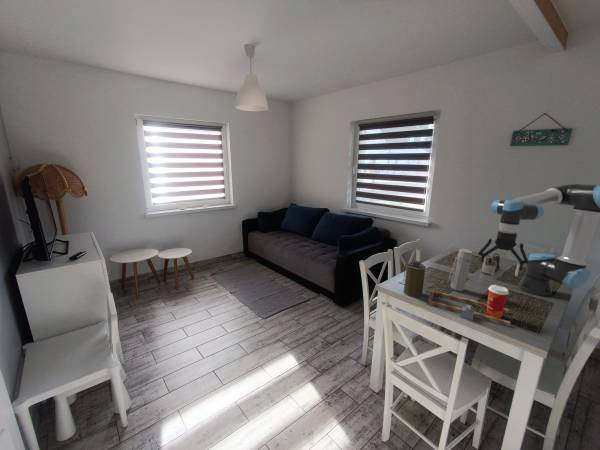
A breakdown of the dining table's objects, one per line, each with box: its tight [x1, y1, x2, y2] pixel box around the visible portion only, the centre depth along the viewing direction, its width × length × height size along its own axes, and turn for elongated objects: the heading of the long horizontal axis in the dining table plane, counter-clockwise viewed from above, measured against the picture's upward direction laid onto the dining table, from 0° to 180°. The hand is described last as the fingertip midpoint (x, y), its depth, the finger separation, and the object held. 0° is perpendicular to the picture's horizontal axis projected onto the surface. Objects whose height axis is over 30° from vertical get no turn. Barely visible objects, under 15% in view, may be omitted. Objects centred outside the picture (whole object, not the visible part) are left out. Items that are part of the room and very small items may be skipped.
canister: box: [403, 259, 427, 298], centre depth 154 cm, size 11×10×20 cm
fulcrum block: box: [460, 304, 475, 321], centre depth 131 cm, size 5×4×6 cm
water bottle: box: [448, 248, 473, 292], centre depth 158 cm, size 9×8×25 cm
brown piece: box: [426, 289, 511, 328], centre depth 140 cm, size 36×15×2 cm, turn 55°
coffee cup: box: [486, 284, 510, 319], centre depth 132 cm, size 8×8×15 cm
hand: (499, 271), depth 135 cm, fingers open, 13 cm apart
